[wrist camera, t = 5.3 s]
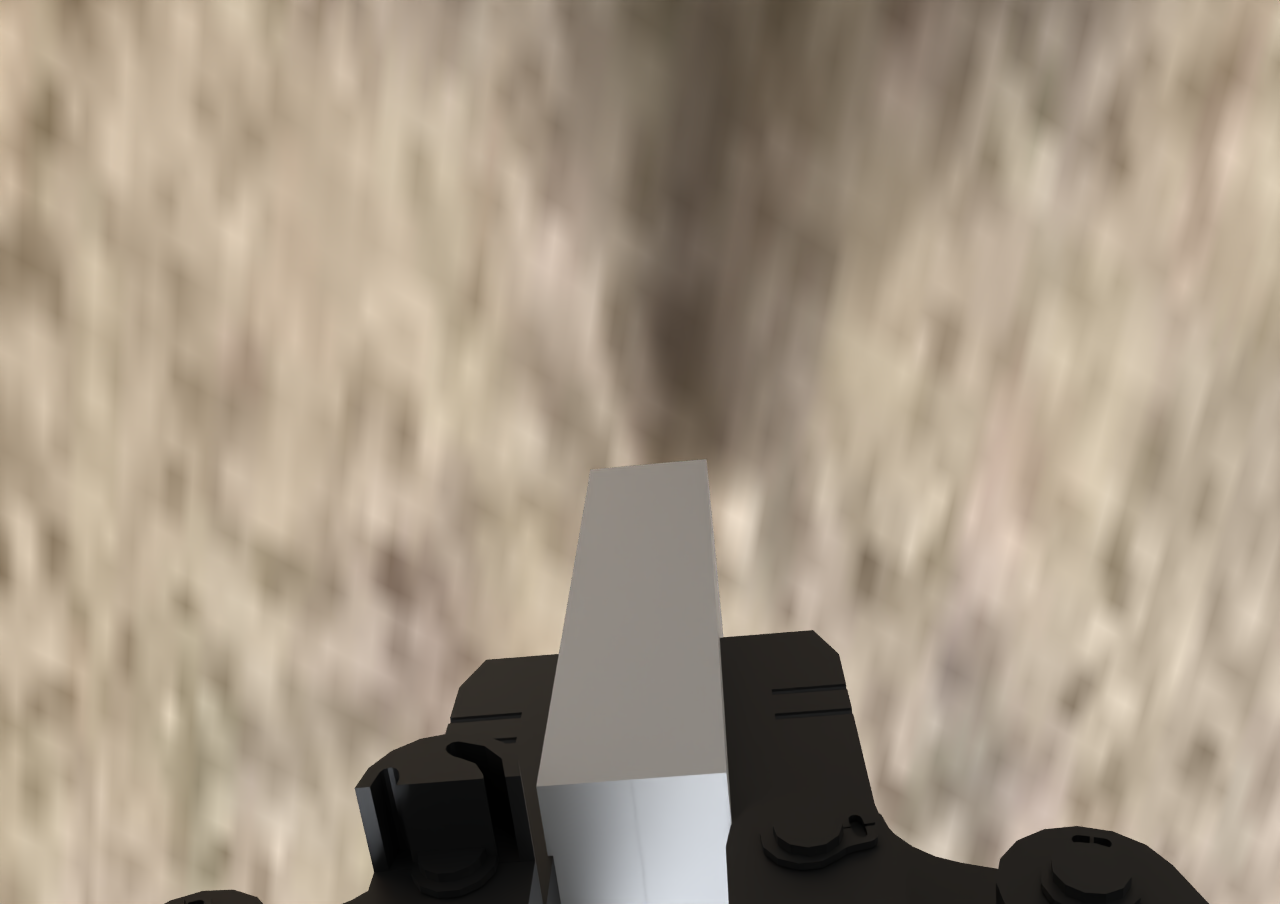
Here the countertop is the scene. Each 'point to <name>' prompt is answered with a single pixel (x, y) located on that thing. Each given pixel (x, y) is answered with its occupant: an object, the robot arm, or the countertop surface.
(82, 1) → the countertop surface
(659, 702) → the robot arm
